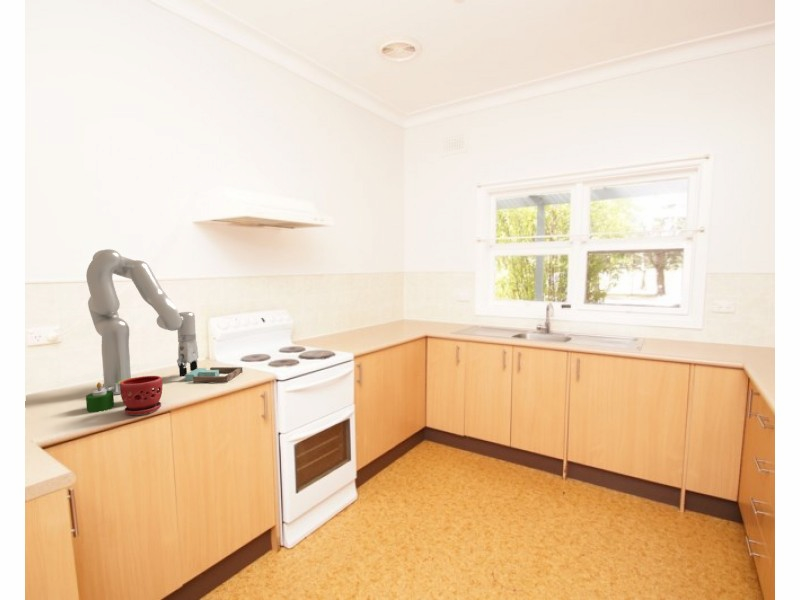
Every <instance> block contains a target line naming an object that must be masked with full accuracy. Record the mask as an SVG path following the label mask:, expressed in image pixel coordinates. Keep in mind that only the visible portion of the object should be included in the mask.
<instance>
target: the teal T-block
mask: <svg viewBox="0 0 800 600" xmlns="http://www.w3.org/2000/svg"><path fill="white" fill-rule="evenodd" d="M195 376H220V373H219V370H210V369H207V368H206V367H197V369H195V370H193V371H189V372H187V374H185V376H184V377H185V381H186V382H193V377H195Z"/></svg>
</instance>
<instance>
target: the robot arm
mask: <svg viewBox="0 0 800 600" xmlns="http://www.w3.org/2000/svg"><path fill="white" fill-rule="evenodd" d="M113 274H114V275H116V276H119V277H123V278H125V279H129V280H131V281H132V282H133V284H134V287H136V289H137V291H138V293H139V294H140V297H141V298H142V299H143V300H144V301H145V302H146V303H147V304H148V305H150V306H151V307H152V308H153V309H154V311H155V312H156V313H157V315H158V316H157V318H156V324H157V326H158V327H159V328H161V329H163V330H166V331H170V332H175V331H177V342H178V349H177V355H178V357H177V360H176V362H177V366H178V369H179V377H185V374H187V373H188V371H187V370H188V368H187V365H188V364H189V370H190V371H189V372H191V371H193V370H195V369H197V368H198V359H199V351H198V345H197V344H198V343H197V336H196V335H197V334H196V319H195V318H196V316H195V313H194V312H193V311H182V312H179V311H178V309H177V307H176V306H175V304H174V303H173V302H172V300H171V299H170V298H169V297H168V295H167V293H166V292H165V291H164V290H163V288H162V287H161V285H160V283H159V282H158V280H157V278H156V276H155V275H154V273H153V271H152V269H151V267H150V266H149V264H147V262H145V261H144V260H134V259H131V258H127V257H125V256H122V255H121V254H120V252H118V251H117V250H114V249H111V248H109V249H101V250H98V251H97V252H95V253H94V254H93V255H92V259H91V261H90V263H89V265H88V267H87V269H86V275H85V276H86V282H87V286H88V290H89V293H90V294H89V295H90V296H89V297H88V303H87V306H88V310H89V314H90V316H91V319H92V323H93V326H94V329H95V331H96V333H97V334H98V335H100V337H101V359H102V372H103V373H102V376H103V383H102V386H101V389H106V390H107V391H113V396H117V395H121V392H120V385H119V384H118V382H119V381H121V380H124V379H129V378H132V376H131V375H132V374H131V373H132V372H131V358H130V357H131V356H130V326H129V325H128V323H127V321H125V320H124V319H123V318H120V317H119V316H120V315H119V313H118V310H119V309H120V300H119V297H118V294H117V291H116V288H115V285H114V282H113V281H114V280H113ZM96 390H98V388H96Z"/></svg>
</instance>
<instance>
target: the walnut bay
mask: <svg viewBox="0 0 800 600" xmlns="http://www.w3.org/2000/svg"><path fill="white" fill-rule="evenodd" d="M209 370H219V374H226V375H225V376H222V375H221V376H220V375H219V376H195V377H193V381H192V383H193V382H227V383H229V382H230V381H232V380H233V379H234V378H236V377H237V376H239V375H240V373H241V374H242V373H243V367H242V366H240V367H239V366H238V367H237V366H236V367H235V366H233V367H231V366H230V367H229V366H228V367H227V366H226V367H225V366H224V367H223V366H219V367H215V366H214V367H212V366H211V367H210V368H209ZM228 381H229V382H228Z"/></svg>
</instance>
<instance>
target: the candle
mask: <svg viewBox="0 0 800 600" xmlns="http://www.w3.org/2000/svg"><path fill="white" fill-rule="evenodd" d="M102 387H103V384H102V383H101V382H97V384H96V389H95V390H93V391H92V392H91V393H88V394H87V395H85V404H86V412H87V411H88V413H99V411H101V412H105V411H108V409H109V410H111V409H114V407H115V400H114V396H115V395H113V391H107V390H106V389H101V388H102ZM97 389H98V390H97ZM104 410H105V411H104Z"/></svg>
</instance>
